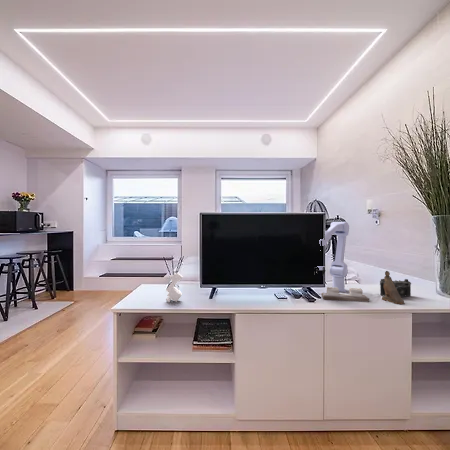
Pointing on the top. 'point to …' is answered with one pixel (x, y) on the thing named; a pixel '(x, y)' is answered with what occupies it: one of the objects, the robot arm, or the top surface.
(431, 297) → the top surface
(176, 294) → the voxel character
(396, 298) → the brown carved statuette
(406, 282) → the camera
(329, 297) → the rail board
